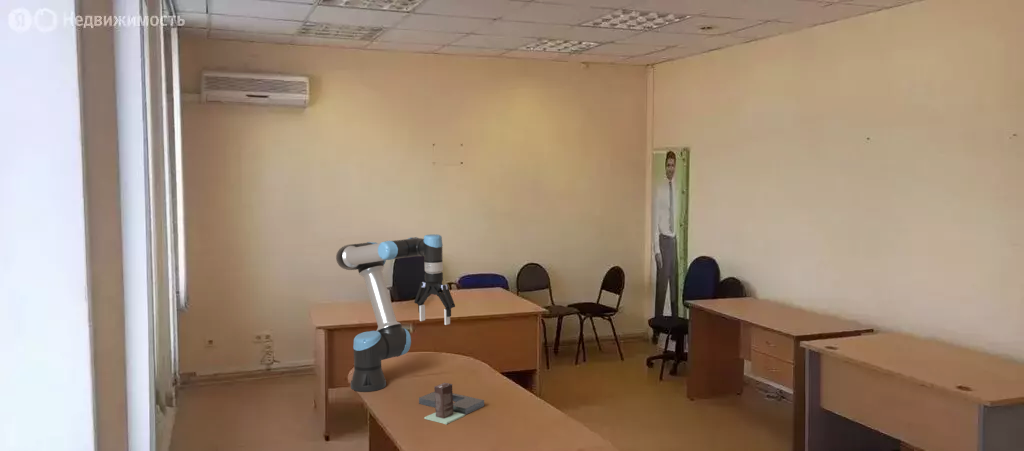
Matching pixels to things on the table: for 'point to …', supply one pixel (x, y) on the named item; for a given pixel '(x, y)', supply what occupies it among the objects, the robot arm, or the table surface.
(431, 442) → the table surface
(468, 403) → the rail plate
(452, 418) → the pad
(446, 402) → the box
